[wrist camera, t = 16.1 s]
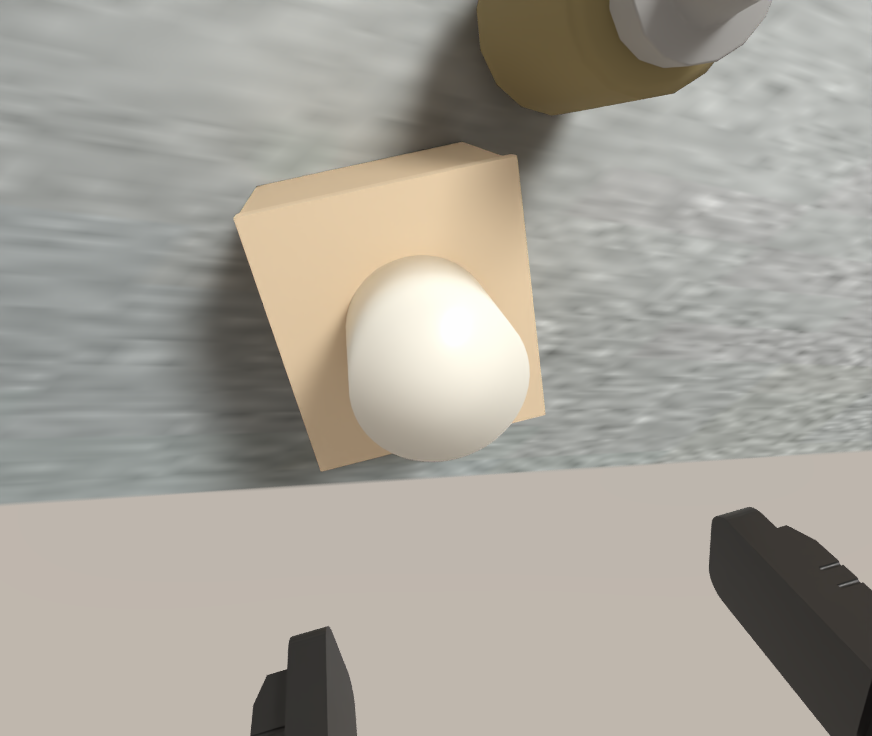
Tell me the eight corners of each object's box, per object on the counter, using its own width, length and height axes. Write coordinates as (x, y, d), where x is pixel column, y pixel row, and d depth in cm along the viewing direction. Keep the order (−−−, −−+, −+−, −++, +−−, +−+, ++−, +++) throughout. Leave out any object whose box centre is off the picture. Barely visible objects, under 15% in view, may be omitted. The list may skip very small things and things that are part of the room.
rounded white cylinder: (344, 392, 26) (347, 463, 21) (347, 251, 23) (351, 295, 18) (482, 392, 27) (515, 460, 22) (500, 258, 24) (543, 301, 19)
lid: (321, 462, 28) (321, 471, 27) (236, 213, 22) (233, 218, 22) (539, 406, 29) (545, 414, 28) (511, 153, 23) (517, 155, 22)
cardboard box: (319, 385, 35) (320, 459, 28) (256, 186, 29) (237, 216, 22) (491, 342, 36) (534, 404, 29) (461, 141, 30) (505, 156, 23)
